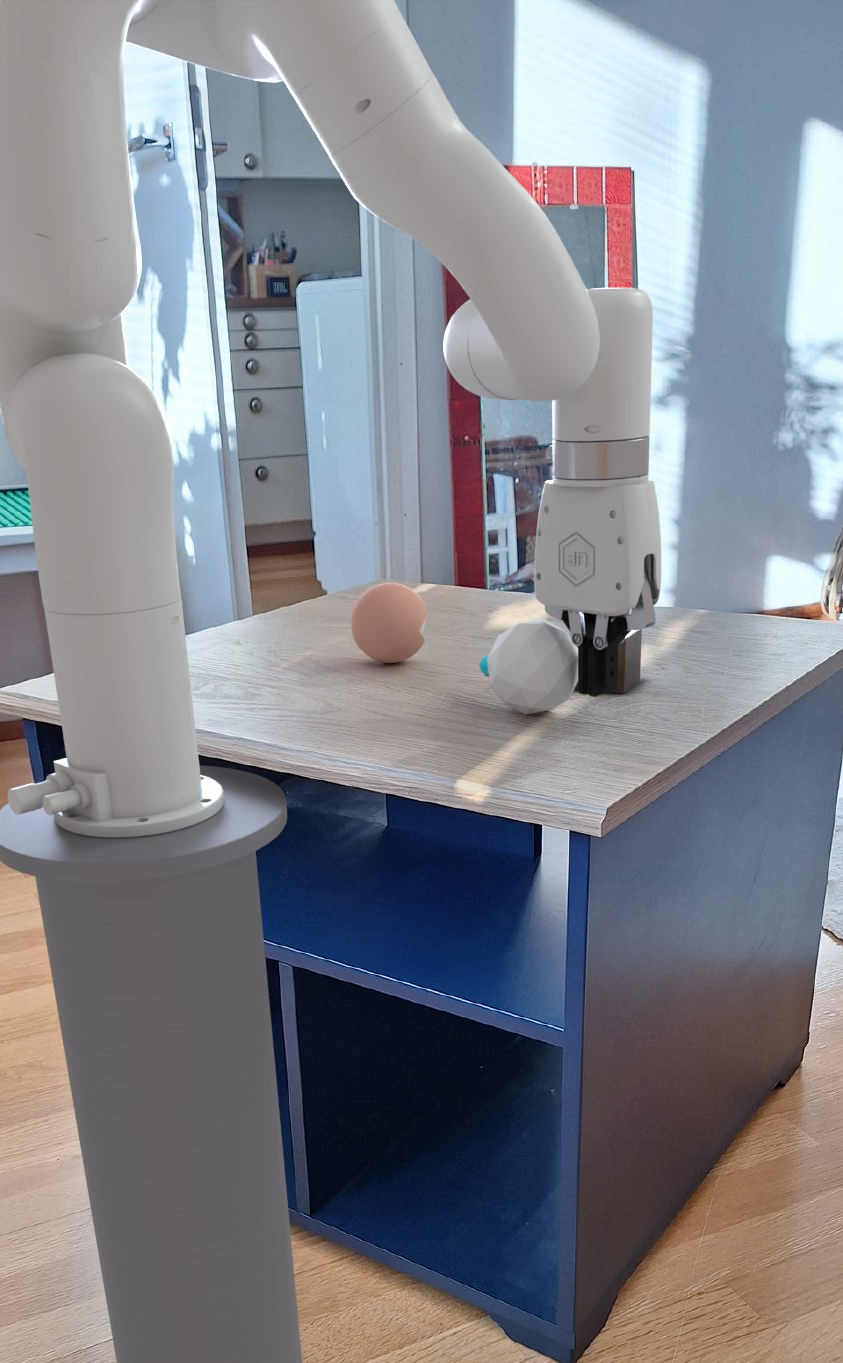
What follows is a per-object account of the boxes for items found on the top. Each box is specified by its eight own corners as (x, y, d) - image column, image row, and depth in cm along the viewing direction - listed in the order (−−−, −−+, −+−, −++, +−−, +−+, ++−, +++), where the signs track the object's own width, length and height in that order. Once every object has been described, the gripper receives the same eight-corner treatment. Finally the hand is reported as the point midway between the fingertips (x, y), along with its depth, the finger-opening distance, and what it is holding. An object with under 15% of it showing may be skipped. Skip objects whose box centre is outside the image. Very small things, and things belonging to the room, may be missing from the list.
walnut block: (624, 694, 117) (625, 639, 115) (571, 689, 119) (572, 635, 117) (640, 681, 121) (642, 627, 119) (589, 677, 123) (590, 624, 121)
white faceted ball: (511, 689, 105) (430, 680, 115) (578, 733, 110) (495, 721, 120) (549, 603, 105) (465, 601, 115) (614, 650, 110) (528, 645, 120)
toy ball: (445, 659, 132) (443, 581, 128) (394, 675, 126) (390, 593, 123) (388, 650, 137) (384, 574, 133) (336, 664, 131) (331, 585, 128)
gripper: (498, 464, 104) (502, 687, 111) (648, 471, 94) (641, 716, 101) (559, 455, 108) (559, 670, 116) (708, 461, 98) (697, 696, 106)
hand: (597, 691), depth 109 cm, fingers closed
